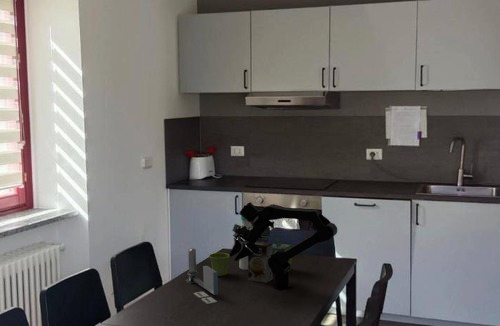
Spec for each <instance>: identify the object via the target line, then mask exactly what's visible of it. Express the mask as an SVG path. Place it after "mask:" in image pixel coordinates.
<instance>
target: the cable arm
mask: <svg viewBox="0 0 500 326" xmlns="http://www.w3.org/2000/svg"><path fill="white" fill-rule="evenodd" d="M202 268H203V269H202V270H203V276H202V277H203V281H202V280H201V279H200V278H199V277H197V276H196V277H194V282H196V283H195V284H197V285H199V286H200V287H201V288H203V289H205V290H206V291H208V292H209V293H211V294H212V295H214V296H215V295H219V291H218V290H219V287H218V286H219V285H218V282H219V281H218V276H217V272H216V271H215V270H213V269H212V267H210V266H208V265H203V266H202Z"/></svg>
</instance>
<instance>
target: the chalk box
mask: <svg viewBox="0 0 500 326" xmlns="http://www.w3.org/2000/svg"><path fill="white" fill-rule="evenodd" d="M274 240H275V243H273V247H272V254H273V253H275V252H277V251H279V250H280V249H282V248H283V249H284V251H285V250H288V249H290V248H292V247H293V245H291V244H286V243H281V239H280V237H277V238H276V239H274ZM288 262H289V264H290V265H291V268H290V270H289V271H288V272H290V271H292V269H293V266H292V264H293V263H292V262H293V257H292V258H291V259H290V260H289V261H288Z"/></svg>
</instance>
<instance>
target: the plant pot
mask: <svg viewBox="0 0 500 326" xmlns="http://www.w3.org/2000/svg"><path fill="white" fill-rule="evenodd" d="M229 254H230V253H225V252H213V253H210V254H209V255H208V258H209V261H210V262H211V263H210V264H211V269H213V270H215V271H216V272H217V277H222V276H227V273H228V264H229V260H230V258H231V257H230V256H229Z"/></svg>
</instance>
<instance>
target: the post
mask: <svg viewBox="0 0 500 326" xmlns="http://www.w3.org/2000/svg"><path fill="white" fill-rule="evenodd" d="M187 251H188V252H187V253H188V256H187V258H188V272H187V273H186V275H187V276H188V278H187V279H185V282H186V283H187V284H189V285H190V284H197V283H196V282H194V277H197V276H199V272H198V271H197V249H196V248H189V249H188V250H187Z"/></svg>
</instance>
